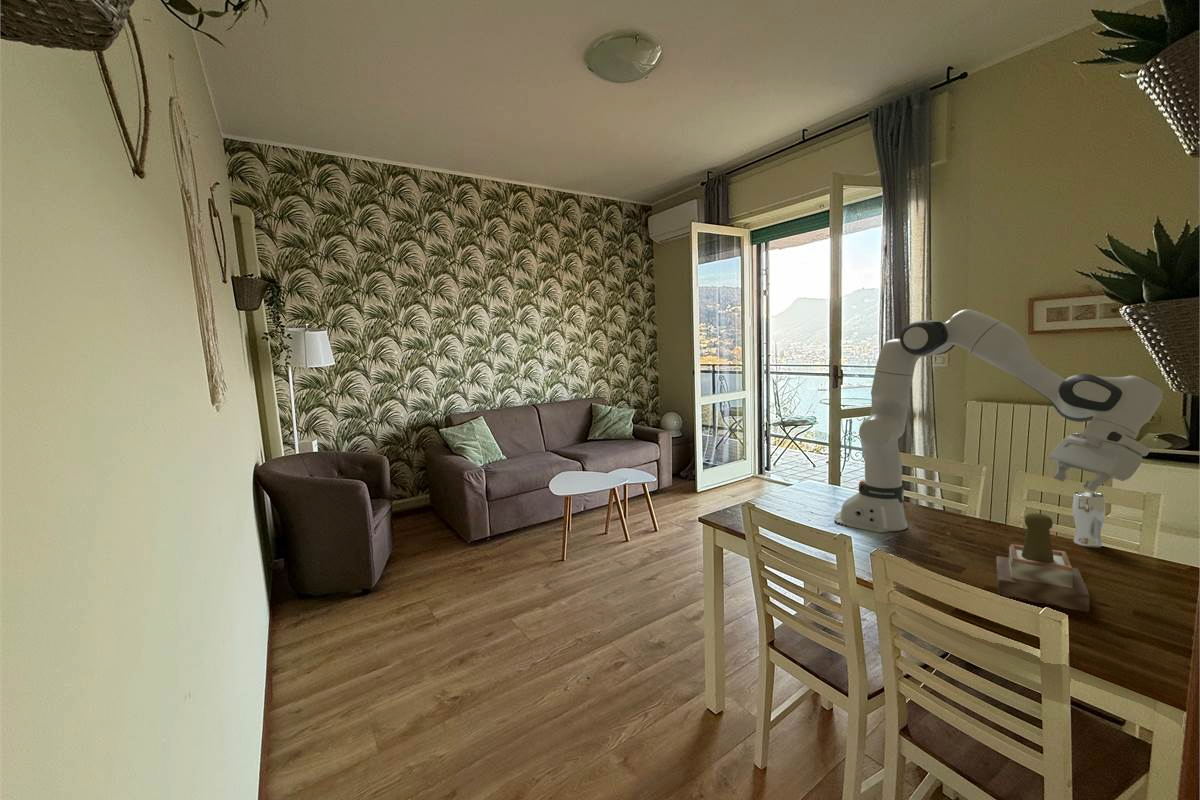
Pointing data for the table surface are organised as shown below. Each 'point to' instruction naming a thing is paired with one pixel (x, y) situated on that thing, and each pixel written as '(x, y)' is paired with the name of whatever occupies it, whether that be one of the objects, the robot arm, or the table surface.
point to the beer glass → (1088, 518)
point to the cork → (1038, 538)
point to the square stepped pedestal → (1042, 580)
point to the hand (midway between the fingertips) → (1072, 484)
